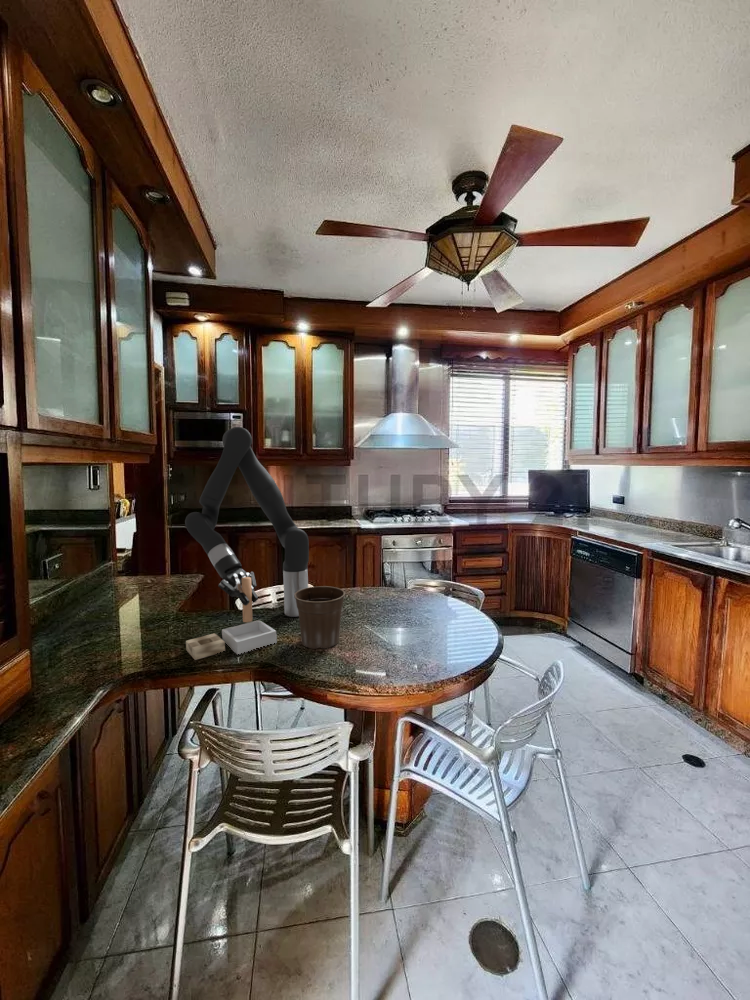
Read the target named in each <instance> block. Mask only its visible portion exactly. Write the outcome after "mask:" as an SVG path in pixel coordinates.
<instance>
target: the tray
mask: <svg viewBox="0 0 750 1000" xmlns="http://www.w3.org/2000/svg"><path fill="white" fill-rule="evenodd" d="M221 637H222V638H221V639H222V640H223V641H224V642H225V643H226V644H227V645H228V646H229V647H230V648H231V649H230V648H229V647H228V646H227V645H226V644H225V645H226V646H227V647H228V648H229V649H230V650H232V651H233V652H234V653H235V654H236V655H237V656H238V654H239V655H242V654H245V653H248V651H249V652H252V651H254V650H253V649H255V650H257V649H256V648H259V649H261V648H260V647H262V648H264V647H263V646H265V647H268V646H267V645H269V646H271V645H270V644H272V645H275V644H277V643H278V641H277V640H278V639H277V630H275V629H274V628H273V627H271V626H270V625H268V624H266V623H265V622H264V621H261V620H260V619H258V620H254V621H253V620H252V621H251V622H245V623H242V624H239V625H234V626H231V627H226V628H223V629H221ZM274 643H275V644H274ZM251 650H252V651H251ZM244 652H245V653H244ZM241 653H242V654H241Z"/></svg>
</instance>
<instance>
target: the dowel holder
mask: <svg viewBox="0 0 750 1000" xmlns="http://www.w3.org/2000/svg"><path fill="white" fill-rule="evenodd" d="M185 651H187V653H188V654H189V655H190V656H191V657H192V659H194V661H197V660H200V659H203V658H208V657H210V656H214V655H217V653H218V654H220V652H221V653H224V652H223V651H225V652H226V644H225V642H224V641H223V640H222V638H221V637H220V636H219V635H218V634H216V633H211V634H210V633H209V634H207V635H203V636H199V637H195V638H190V639H188V640H185Z"/></svg>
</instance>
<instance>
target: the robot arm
mask: <svg viewBox="0 0 750 1000" xmlns="http://www.w3.org/2000/svg"><path fill="white" fill-rule="evenodd" d="M222 435H223V436H222V440H221V441H222V445H223V450H222V453H221V454H220V455H221V456H220V458H219V460H218V463H217V464H216V467H215V468H214V470H213V472H212V473H211V475H210V477H208V480H207V482H206V484H205V485H204V488H203V491H202V493H201V496H200V497H199V501H198V502H199V504H200V505H201V506H202V510H201V512H199V511H198V512H197V511H193V512H190V513H188V514H187V515H186V517H185V520H184V525H185V527H186V530H187V531H188V533H189V534H190V536H191V537H192V538H193V539H194V540H195V541H196V542H198V543H199V544H200V546H202V549H203V551H204V552H205V553H206V555H207V557H208V558H209V561H210V562H211V564H212V566H213V568H214V569H215V570H216V572H217V573H218V575H219V577H220V578H221V579H222V580H221V581H220V583H218V588H220V589H221V590H222V591H224V592H225V593H226V594H227V595H229V596H230V597H232V598H233V597H237V598H238V599H239V601H240V602H241V604H244V605H245V606H246V605H248V603H249V602H250V601H249V599H248V598H247V596H246V595H245V593H244V592H243V591H242V578H244V577H251V586H252V604H253V603H256V602H257V601H258V600H259V598H258V597H259V596H258V594H257V593H256V592H255V590H254V589H255V588H256V587H257V582H256V577H255V572H254V571H250V572H247V571H246V570H244V569H243V568H242V564H241V562H240V560H239V559H238V558H237V556H236V554H235V552H234V551H233V549H232V548H231V547H230V546H229V544H228V543H227V542H226V541H225V538H223V536H222V535H221V534H220V533H219V532H217V531H216V530H215V528H216V526H217V523H218V517H219V514H220V506H221V504H222V502H223V499H224V498H225V495H226V493H227V491H228V488H229V486H230V483H231V481H232V479H233V476H234V474H235V472H236V470H237V468H239V470H240V472H241V474H242V476H243V478H244V481H245V483H246V485H247V486H248V488H249V490H250V492H251V494H252V496H253V497H254V500H255V501H256V503H257V504H258V506H259V507H260V509H261V510H262V512H263V513H264V514H265V516H266V517H267V519H268V520H269V522H270V523H271V525H272V526H273V528H274V530H275V533H276V536H277V538H278V539H279V543H280V544H281V546H282V547H283V548H284V561H283V563H282V573H283V574H282V576H283V600H284V601H283V604H284V606H283V607H284V608H283V609H284V615H285V616H287V617H292V618H293V617H299V613H298V608H297V604H296V599H295V597H294V594H295V593H296V592H297V591H299V590H301V589H305V588H309V576H308V572H309V571H308V565H309V564H308V563H309V561H310V559H309V558H310V544H309V543H310V540H309V536H308V534H307V533H306V532H305V530H303V529H301V528H299V527H298V526H297V525H296V524H295V522H294V521H293V519H292V517H291V516H290V514H289V512H288V510H287V507H286V503H285V500H284V496H283V495H282V492H281V490H280V489H279V487H278V485H277V483H276V481H275V480H274V478H273V476H272V475H271V474H270V473H269V472H268V470H267V469H266V468H265V467H264V466H263V465H262V463H261V462H260V461H259V460H258V458H257V456H256V454H255V452H254V451H253V449H252V444H253V438H252V435H251V433H250V432H249V430H248V429H246V428H244V427H242V426H241V427H240V426H235V427H231V428H229V429H228V430H226V431H225V432H224V433H223V434H222ZM242 592H243V593H242Z"/></svg>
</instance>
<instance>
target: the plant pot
mask: <svg viewBox="0 0 750 1000" xmlns="http://www.w3.org/2000/svg"><path fill="white" fill-rule="evenodd" d="M308 587H309V586H308ZM345 596H346V592H345V590H343V589H342V588H339V587H336V586H335V587H334V586H327V585H323V586H322V585H321V586H319V585H318V586H310V587H309V588H305V589H301V590H299V591H297V592H296V593H295V594H294V597H295V599H296V604H297V608H298V613H299V616H298V620H299V628H300V637H301V638H300V640H301V645H303V646H304V647H306V648H309V649H313V650H316V649H318V648H321V649H323V650H324V649H329V648H332V647H334V646H336V645H338V644H339V642H340V631H341V621H342V608H343V606H344V597H345Z"/></svg>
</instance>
